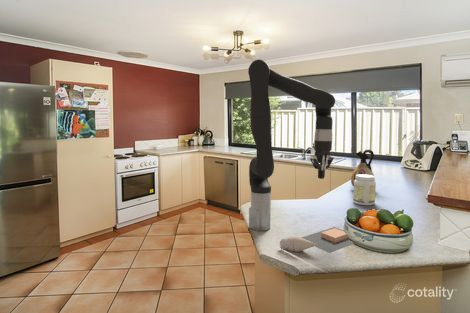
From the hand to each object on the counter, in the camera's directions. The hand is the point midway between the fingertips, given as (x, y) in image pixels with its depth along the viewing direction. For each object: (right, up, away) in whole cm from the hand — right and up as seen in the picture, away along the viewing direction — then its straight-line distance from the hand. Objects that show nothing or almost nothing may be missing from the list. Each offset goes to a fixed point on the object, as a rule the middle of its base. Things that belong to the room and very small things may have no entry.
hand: (321, 178), depth 131 cm
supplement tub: (+40, -19, +47) cm, 64 cm away
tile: (0, -24, -10) cm, 26 cm away
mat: (+2, -25, -8) cm, 27 cm away
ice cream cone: (-14, -27, -19) cm, 36 cm away
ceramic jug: (+53, -15, +77) cm, 95 cm away
